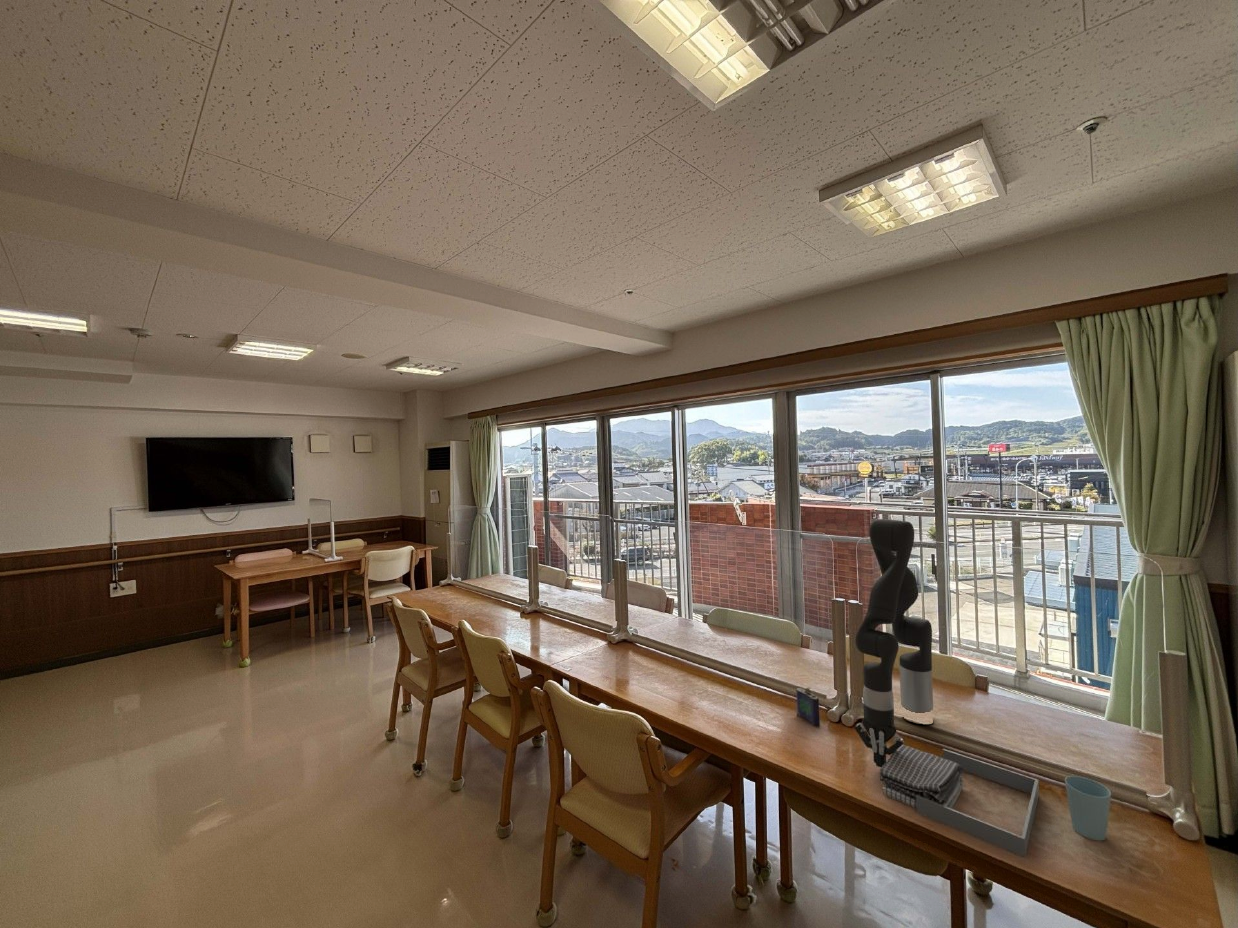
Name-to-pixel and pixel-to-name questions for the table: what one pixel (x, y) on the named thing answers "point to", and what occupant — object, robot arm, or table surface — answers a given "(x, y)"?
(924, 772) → the towel
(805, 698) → the flask
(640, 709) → the table surface
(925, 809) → the tray
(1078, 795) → the cup
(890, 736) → the robot arm
